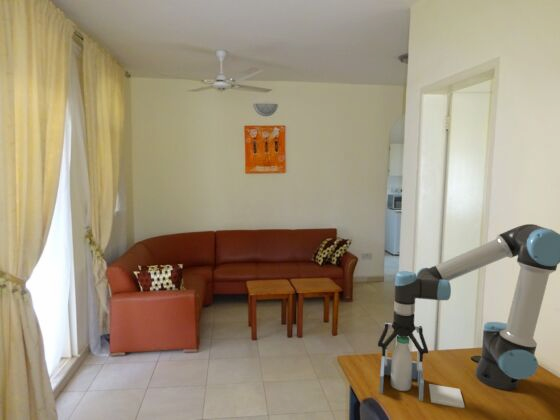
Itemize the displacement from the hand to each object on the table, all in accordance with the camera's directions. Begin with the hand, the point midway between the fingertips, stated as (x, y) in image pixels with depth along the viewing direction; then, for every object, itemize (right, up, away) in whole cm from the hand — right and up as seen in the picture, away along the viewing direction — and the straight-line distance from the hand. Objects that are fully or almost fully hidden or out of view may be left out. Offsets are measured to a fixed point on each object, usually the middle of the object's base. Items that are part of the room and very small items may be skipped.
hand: (401, 366), depth 146 cm
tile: (+15, -9, -6) cm, 18 cm away
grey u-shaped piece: (0, -8, +1) cm, 8 cm away
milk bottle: (0, -8, +1) cm, 8 cm away
